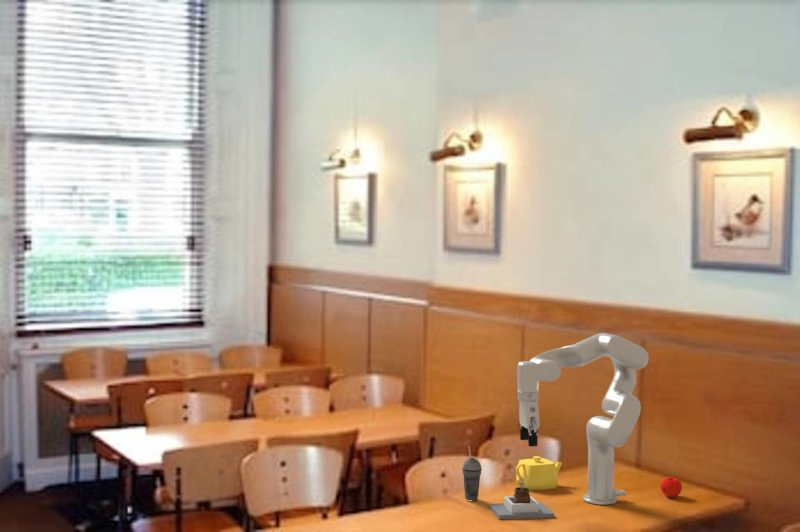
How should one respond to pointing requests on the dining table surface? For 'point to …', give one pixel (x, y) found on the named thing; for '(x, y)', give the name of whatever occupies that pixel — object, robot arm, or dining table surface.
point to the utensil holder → (521, 494)
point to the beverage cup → (471, 477)
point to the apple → (671, 487)
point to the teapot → (538, 473)
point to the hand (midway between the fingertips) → (528, 442)
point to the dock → (521, 509)
